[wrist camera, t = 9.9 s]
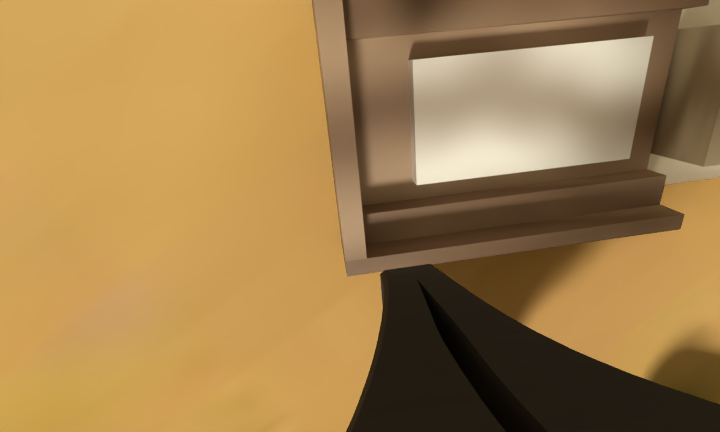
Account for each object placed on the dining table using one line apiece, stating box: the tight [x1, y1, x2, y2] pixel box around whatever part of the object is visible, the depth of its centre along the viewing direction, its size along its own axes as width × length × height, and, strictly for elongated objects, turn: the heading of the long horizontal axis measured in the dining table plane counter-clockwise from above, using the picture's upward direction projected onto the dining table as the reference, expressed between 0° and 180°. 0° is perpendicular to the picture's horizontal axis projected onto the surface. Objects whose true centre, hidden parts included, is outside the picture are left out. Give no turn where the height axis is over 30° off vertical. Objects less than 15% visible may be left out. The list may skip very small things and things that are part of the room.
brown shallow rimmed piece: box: [312, 0, 709, 276], centre depth 17 cm, size 12×17×3 cm
